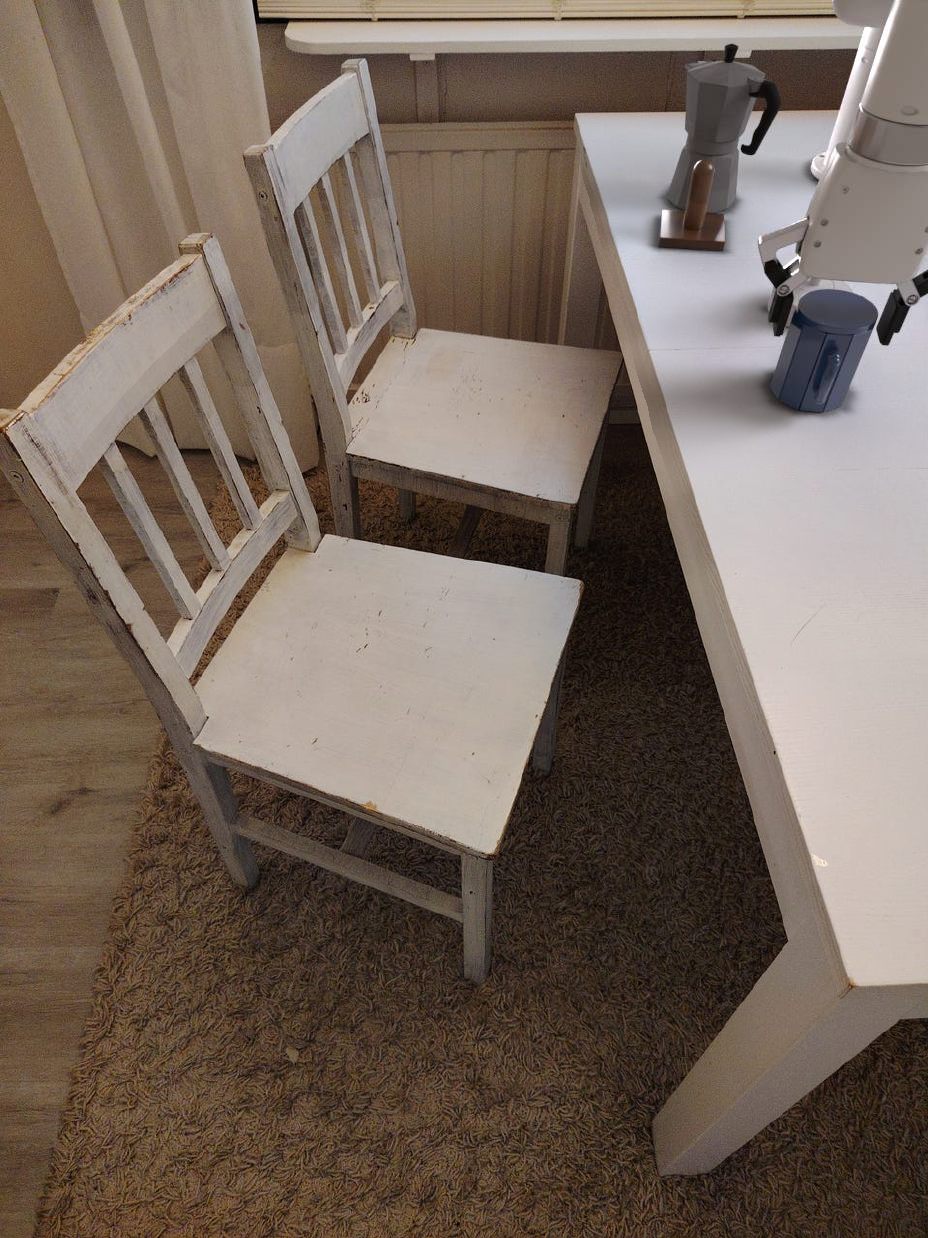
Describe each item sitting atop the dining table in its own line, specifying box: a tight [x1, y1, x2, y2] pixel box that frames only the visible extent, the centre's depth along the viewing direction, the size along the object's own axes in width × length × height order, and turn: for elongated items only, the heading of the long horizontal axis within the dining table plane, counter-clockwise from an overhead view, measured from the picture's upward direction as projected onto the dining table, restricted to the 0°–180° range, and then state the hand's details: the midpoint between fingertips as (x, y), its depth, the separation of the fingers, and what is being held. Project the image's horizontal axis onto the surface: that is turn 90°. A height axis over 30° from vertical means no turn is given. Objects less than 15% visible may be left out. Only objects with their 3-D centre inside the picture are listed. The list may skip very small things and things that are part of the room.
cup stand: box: [658, 159, 726, 252], centre depth 100 cm, size 8×8×9 cm
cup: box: [769, 289, 879, 413], centre depth 77 cm, size 9×8×9 cm
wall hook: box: [767, 278, 854, 328], centre depth 87 cm, size 9×10×10 cm
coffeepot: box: [666, 43, 782, 213], centre depth 102 cm, size 15×9×18 cm, turn 36°
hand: (828, 333), depth 76 cm, fingers open, 9 cm apart
